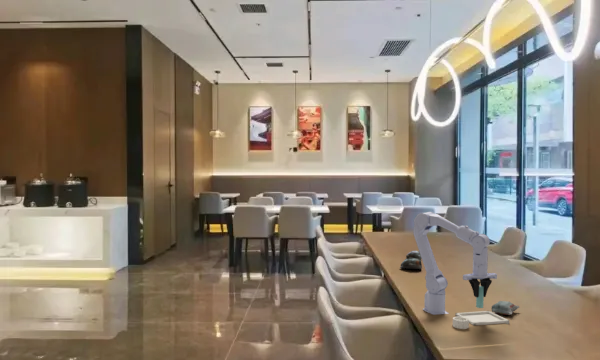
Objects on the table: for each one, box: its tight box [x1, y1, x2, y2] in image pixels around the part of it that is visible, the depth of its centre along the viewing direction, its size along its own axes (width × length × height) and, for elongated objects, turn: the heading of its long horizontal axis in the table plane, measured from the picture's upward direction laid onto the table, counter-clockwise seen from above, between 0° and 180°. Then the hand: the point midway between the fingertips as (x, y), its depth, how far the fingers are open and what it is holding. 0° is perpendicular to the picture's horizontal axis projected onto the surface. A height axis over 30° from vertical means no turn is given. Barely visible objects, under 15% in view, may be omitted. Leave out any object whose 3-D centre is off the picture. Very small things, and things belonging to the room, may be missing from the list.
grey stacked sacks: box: [399, 250, 423, 271], centre depth 312 cm, size 15×12×14 cm
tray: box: [455, 310, 510, 326], centre depth 206 cm, size 14×16×2 cm
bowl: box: [452, 316, 470, 330], centre depth 196 cm, size 6×6×4 cm
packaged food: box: [490, 300, 520, 316], centre depth 217 cm, size 9×12×5 cm
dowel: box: [475, 285, 485, 309], centre depth 205 cm, size 3×3×8 cm
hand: (479, 296), depth 205 cm, fingers closed on dowel, 3 cm apart
